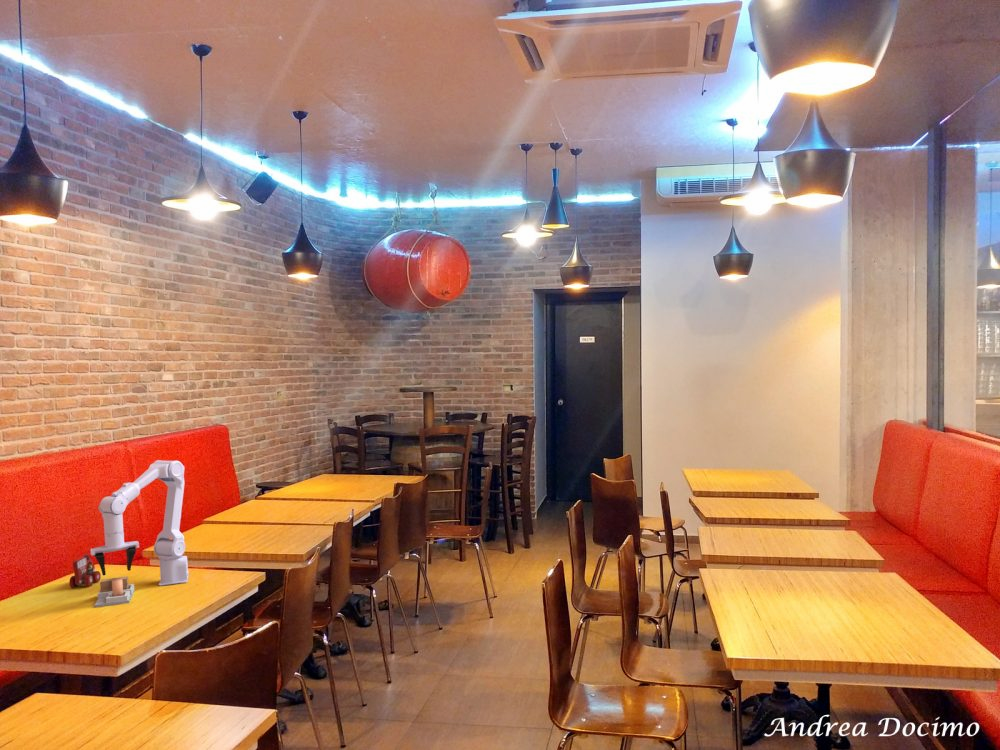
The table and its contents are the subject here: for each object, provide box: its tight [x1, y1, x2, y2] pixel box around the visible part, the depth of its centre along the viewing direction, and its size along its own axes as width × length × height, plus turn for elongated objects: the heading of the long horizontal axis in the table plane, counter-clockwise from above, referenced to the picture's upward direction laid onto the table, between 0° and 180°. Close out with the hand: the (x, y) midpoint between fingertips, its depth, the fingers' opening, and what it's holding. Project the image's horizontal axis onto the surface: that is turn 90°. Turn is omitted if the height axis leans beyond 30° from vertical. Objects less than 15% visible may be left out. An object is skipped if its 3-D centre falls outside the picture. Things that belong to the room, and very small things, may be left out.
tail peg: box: [112, 579, 123, 597], centre depth 263 cm, size 3×3×6 cm
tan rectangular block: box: [99, 576, 130, 593], centre depth 269 cm, size 8×3×5 cm, turn 108°
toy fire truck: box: [68, 554, 101, 588], centre depth 285 cm, size 7×12×10 cm, turn 0°
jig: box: [93, 583, 135, 608], centre depth 266 cm, size 10×14×3 cm
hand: (116, 572), depth 262 cm, fingers open, 7 cm apart
